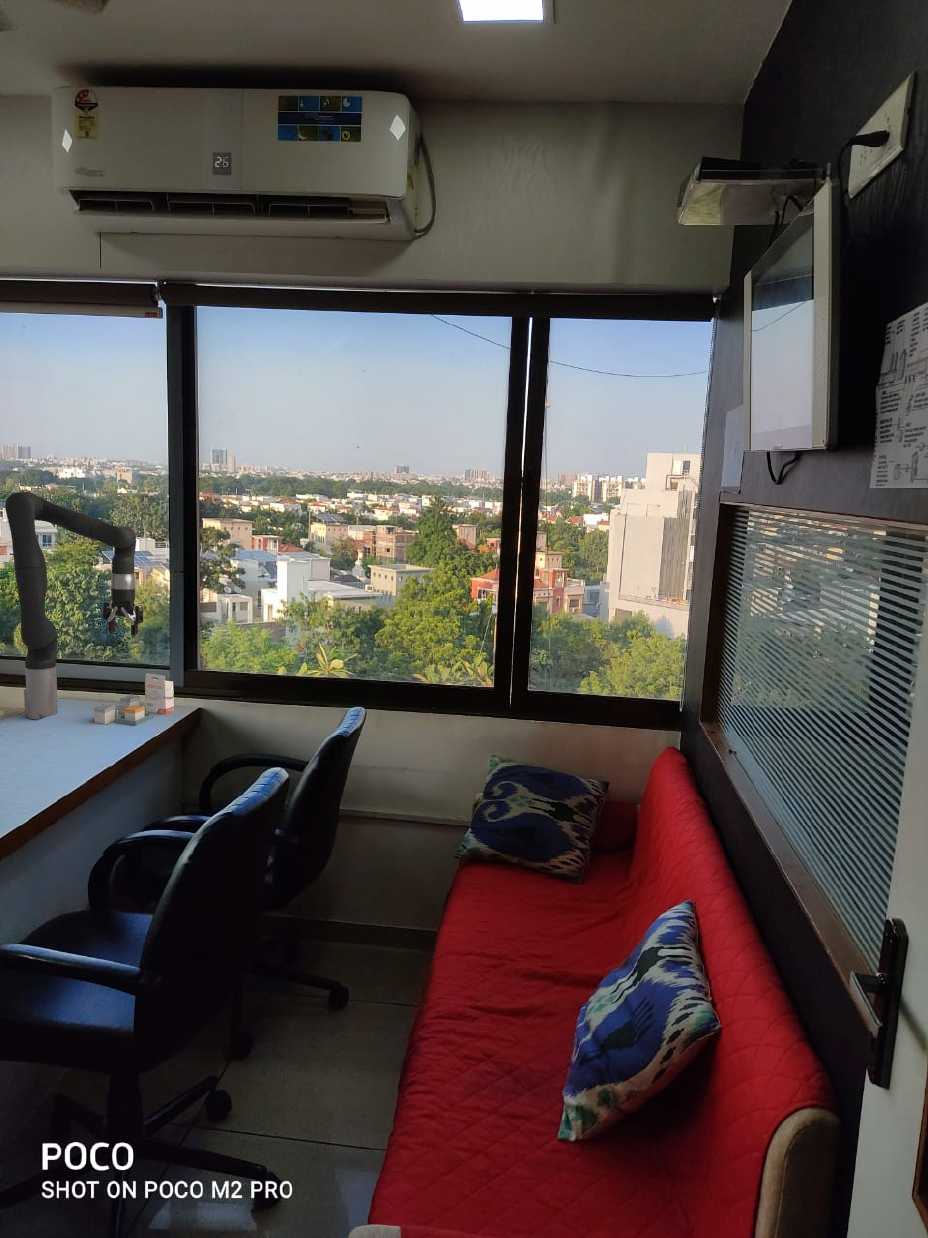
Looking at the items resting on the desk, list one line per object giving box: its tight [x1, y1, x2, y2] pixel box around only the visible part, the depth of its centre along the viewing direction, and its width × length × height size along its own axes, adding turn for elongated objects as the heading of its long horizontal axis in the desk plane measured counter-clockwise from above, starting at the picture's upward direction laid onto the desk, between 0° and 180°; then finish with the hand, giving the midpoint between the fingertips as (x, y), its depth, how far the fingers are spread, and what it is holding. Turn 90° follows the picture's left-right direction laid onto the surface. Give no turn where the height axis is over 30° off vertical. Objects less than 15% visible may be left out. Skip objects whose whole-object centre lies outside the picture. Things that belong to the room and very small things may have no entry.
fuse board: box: [89, 694, 141, 726], centre depth 283 cm, size 7×19×6 cm, turn 165°
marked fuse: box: [124, 705, 146, 721], centre depth 279 cm, size 4×5×5 cm
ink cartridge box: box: [144, 673, 175, 715], centre depth 290 cm, size 9×5×15 cm, turn 73°
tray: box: [114, 712, 154, 727], centre depth 280 cm, size 8×9×2 cm
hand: (123, 634), depth 282 cm, fingers open, 8 cm apart
